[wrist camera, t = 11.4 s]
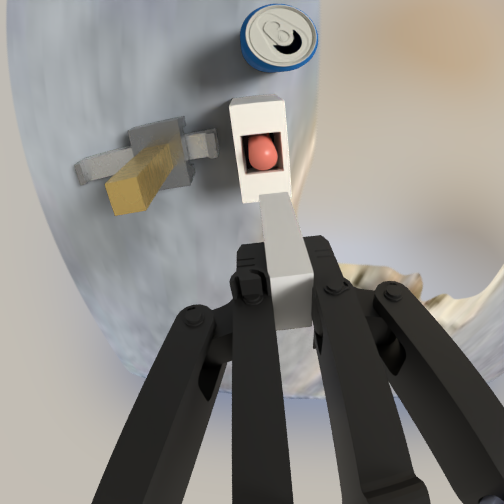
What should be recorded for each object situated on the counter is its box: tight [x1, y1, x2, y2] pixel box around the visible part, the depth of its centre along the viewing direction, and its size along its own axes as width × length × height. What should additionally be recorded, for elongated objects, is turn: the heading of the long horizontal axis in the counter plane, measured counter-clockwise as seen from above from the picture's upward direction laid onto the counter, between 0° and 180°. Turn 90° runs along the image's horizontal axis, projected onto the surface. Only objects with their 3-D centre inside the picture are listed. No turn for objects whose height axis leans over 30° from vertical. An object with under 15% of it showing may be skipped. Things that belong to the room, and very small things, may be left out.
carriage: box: [105, 116, 195, 216], centre depth 28 cm, size 8×6×15 cm
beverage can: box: [240, 4, 318, 72], centre depth 23 cm, size 6×6×12 cm
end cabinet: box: [229, 94, 292, 203], centre depth 30 cm, size 10×5×9 cm, turn 7°
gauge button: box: [248, 133, 277, 170], centre depth 29 cm, size 3×3×8 cm
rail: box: [74, 128, 220, 185], centre depth 34 cm, size 3×19×3 cm, turn 97°
